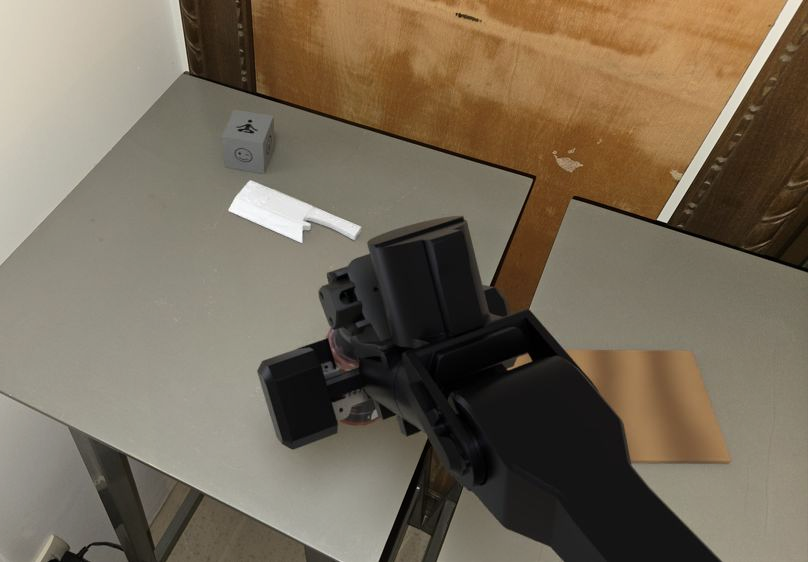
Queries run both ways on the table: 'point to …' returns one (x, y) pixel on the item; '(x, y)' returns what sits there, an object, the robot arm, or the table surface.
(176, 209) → the table surface
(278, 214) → the white plastic blade
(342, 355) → the supplement bottle
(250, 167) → the dice cube
